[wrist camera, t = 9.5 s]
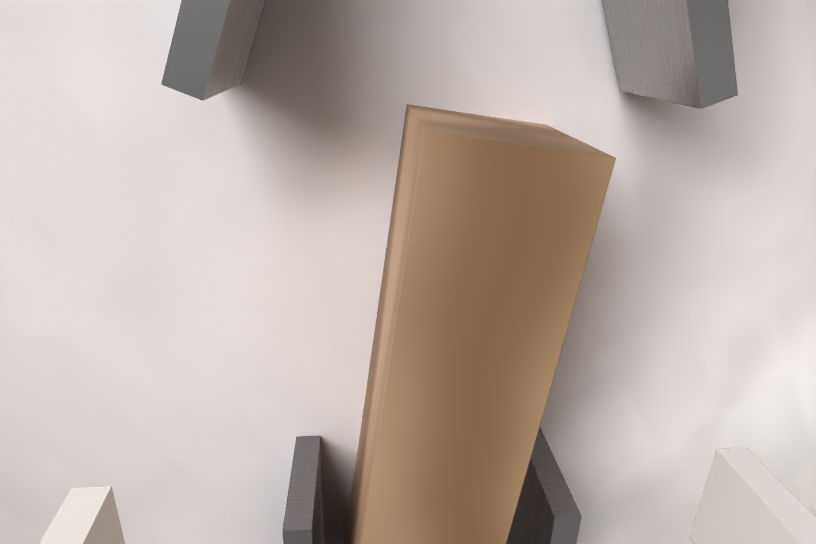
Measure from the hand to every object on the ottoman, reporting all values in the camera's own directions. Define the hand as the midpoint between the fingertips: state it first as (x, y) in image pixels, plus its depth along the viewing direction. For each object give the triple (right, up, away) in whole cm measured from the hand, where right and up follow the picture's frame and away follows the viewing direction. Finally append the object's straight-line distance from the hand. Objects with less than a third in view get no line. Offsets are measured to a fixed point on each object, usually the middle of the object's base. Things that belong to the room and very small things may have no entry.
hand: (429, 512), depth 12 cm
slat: (0, +3, +6) cm, 7 cm away
